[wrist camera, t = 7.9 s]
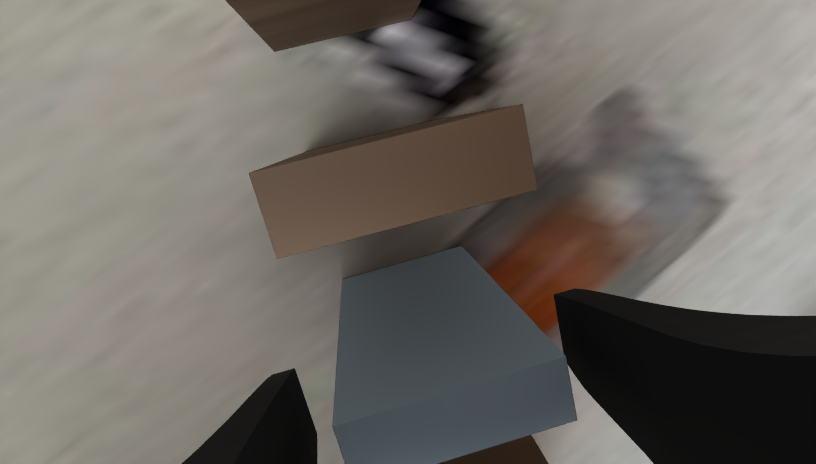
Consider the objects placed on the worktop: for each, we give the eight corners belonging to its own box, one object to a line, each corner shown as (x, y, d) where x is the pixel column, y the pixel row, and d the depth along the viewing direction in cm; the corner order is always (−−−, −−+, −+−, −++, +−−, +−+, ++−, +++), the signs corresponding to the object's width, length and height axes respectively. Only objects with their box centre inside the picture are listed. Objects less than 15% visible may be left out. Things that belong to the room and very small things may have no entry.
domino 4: (442, 161, 17) (537, 190, 8) (316, 193, 17) (276, 258, 8) (433, 119, 17) (522, 104, 8) (304, 152, 16) (248, 172, 8)
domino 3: (469, 281, 18) (577, 420, 10) (353, 315, 18) (354, 489, 9) (461, 246, 18) (566, 356, 9) (342, 279, 18) (332, 426, 9)
